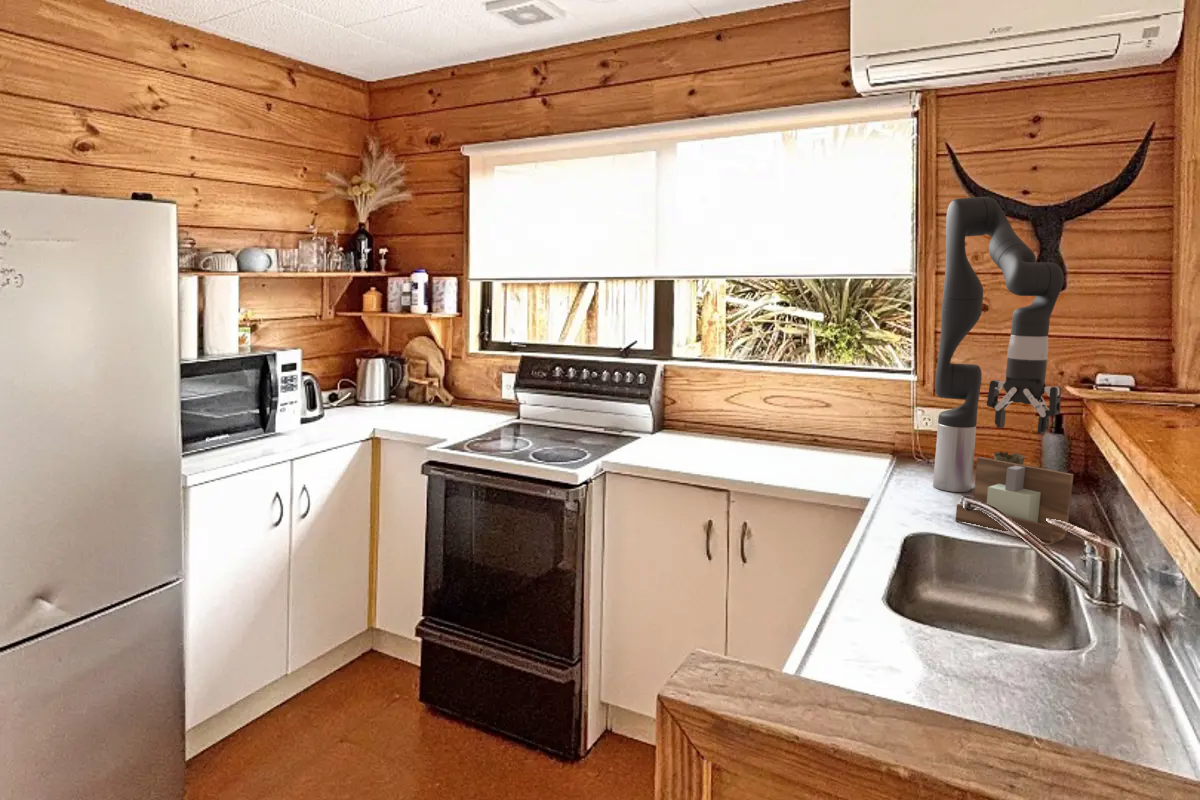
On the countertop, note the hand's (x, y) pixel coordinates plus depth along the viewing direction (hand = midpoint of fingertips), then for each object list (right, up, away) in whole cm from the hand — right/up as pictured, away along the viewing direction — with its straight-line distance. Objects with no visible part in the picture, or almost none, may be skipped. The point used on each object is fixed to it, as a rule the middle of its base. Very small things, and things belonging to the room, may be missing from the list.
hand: (1020, 430), depth 167 cm
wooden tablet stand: (-1, -22, +3) cm, 22 cm away
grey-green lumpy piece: (+20, -16, +43) cm, 50 cm away
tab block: (0, -21, +3) cm, 21 cm away
